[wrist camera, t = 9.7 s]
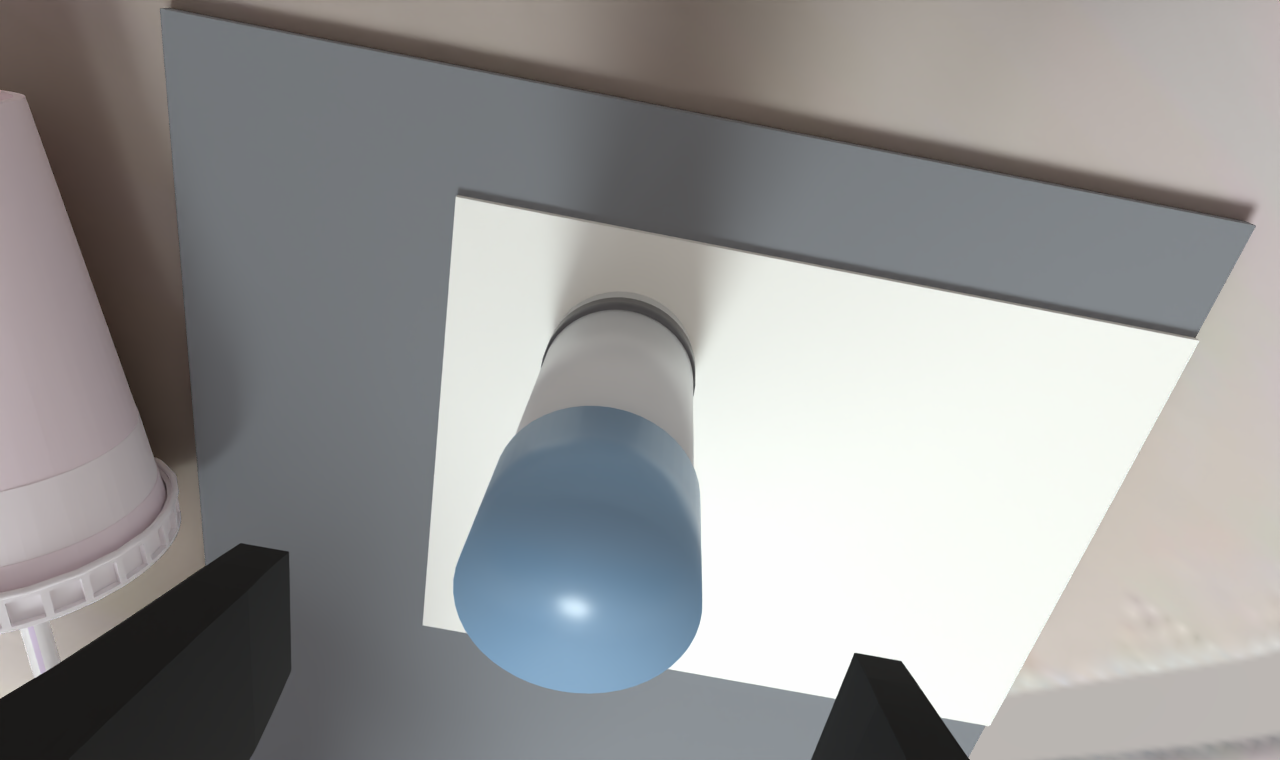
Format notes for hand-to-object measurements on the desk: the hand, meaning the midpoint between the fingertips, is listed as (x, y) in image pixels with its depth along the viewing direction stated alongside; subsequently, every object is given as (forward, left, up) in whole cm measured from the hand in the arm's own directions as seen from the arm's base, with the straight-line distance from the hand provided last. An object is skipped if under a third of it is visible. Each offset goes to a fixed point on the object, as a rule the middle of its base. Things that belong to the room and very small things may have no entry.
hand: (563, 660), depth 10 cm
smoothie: (+4, +13, -7) cm, 16 cm away
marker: (0, 0, -9) cm, 9 cm away
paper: (-3, -4, -9) cm, 10 cm away
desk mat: (-5, -1, -9) cm, 11 cm away
